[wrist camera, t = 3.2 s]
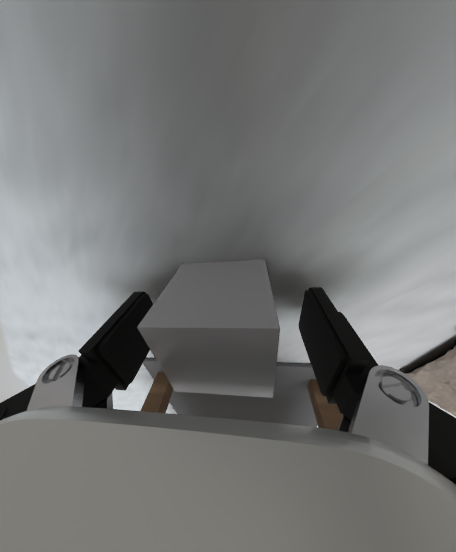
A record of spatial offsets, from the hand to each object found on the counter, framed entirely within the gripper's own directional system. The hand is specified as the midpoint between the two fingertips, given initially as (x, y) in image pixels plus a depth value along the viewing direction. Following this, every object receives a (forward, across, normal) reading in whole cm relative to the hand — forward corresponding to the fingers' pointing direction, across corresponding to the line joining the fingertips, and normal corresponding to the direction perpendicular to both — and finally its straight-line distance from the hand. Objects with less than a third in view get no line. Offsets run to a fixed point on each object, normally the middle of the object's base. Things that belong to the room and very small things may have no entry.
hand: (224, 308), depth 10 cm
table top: (+1, 0, +18) cm, 18 cm away
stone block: (+1, 0, 0) cm, 1 cm away
